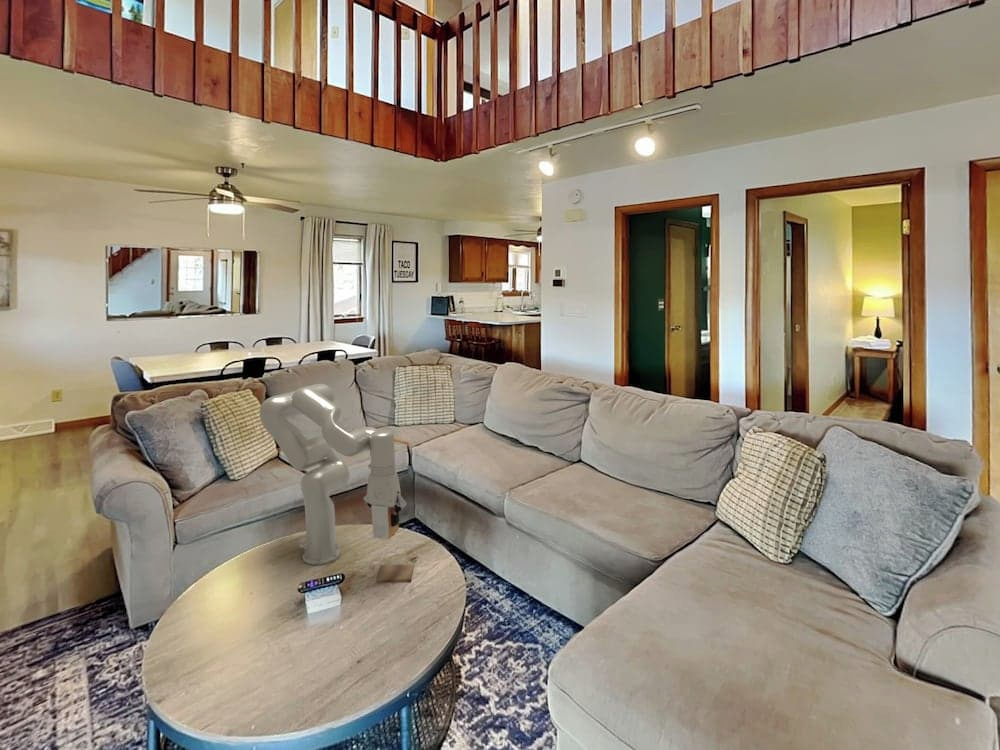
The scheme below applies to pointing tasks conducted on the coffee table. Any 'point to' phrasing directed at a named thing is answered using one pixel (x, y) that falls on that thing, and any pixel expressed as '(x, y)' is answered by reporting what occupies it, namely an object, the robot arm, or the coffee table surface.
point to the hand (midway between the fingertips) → (385, 522)
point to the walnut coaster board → (394, 573)
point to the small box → (382, 522)
